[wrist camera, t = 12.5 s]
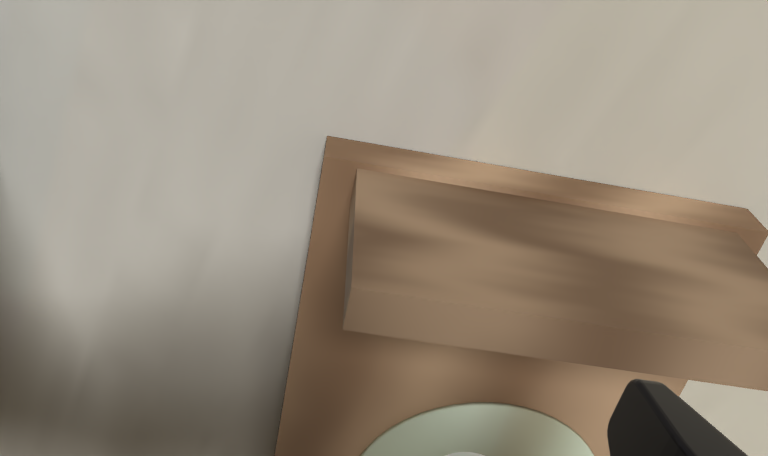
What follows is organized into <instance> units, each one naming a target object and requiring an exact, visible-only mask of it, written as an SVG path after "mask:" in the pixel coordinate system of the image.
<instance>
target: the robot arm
mask: <svg viewBox="0 0 768 456" xmlns="http://www.w3.org/2000/svg"><path fill="white" fill-rule="evenodd" d="M607 438H608V445H609V451H610V456H748V455H746V454H745V453H744V452H743V451H742V450H740V449H739V448H738V447H737V446H736V445H735V444H733V443H732V442H731V441H730V440H729V439H728V438H726V437H725V436H724V435H723V434H722V433H721V432H719V431H718V430H717V429H716V428H715V427H714V426H712V425H711V424H710V423H709V422H708V421H707V420H705V419H704V418H703V417H702V416H701V415H700V414H698V413H697V412H696V411H695V410H694V409H693V408H691V407H690V406H689V405H688V404H687V403H686V402H684V401H683V400H682V399H681V398H680V397H679V396H677V395H676V394H675V393H674V392H673V391H672V390H670V389H669V388H668V387H667V386H666V385H664V384H663V383H661V382H657V381H650V380H643V379H633V380H631V381H630V382H629V383H628V384H627V386H626V387H625V389H624V391H623V393H622V395H621V397H620V399H619V401H618V403H617V405H616V407H615V410H614V412H613V414H612V416H611V418H610V420H609V423H608V429H607Z"/></svg>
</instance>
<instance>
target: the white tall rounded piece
mask: <svg viewBox="0 0 768 456" xmlns="http://www.w3.org/2000/svg"><path fill="white" fill-rule="evenodd" d="M445 456H484V455H482V454H478V453H473V452H457V453H451V454H448V455H445Z"/></svg>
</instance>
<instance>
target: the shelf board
mask: <svg viewBox="0 0 768 456" xmlns="http://www.w3.org/2000/svg"><path fill="white" fill-rule="evenodd" d="M767 236H768V230H767V229H766V228H765V227H764V226H763V225H762V224H761V223H760V222H759V221H758V220H757V219H756V218H755V216H754V215H753V214H752V213H751V212H750V211H749V210H748V209H745V208H739V207H734V206H728V205H722V204H716V203H711V202H705V201H699V200H693V199H688V198H682V197H676V196H670V195H665V194H659V193H653V192H647V191H642V190H636V189H630V188H624V187H619V186H613V185H607V184H601V183H595V182H590V181H584V180H578V179H572V178H567V177H561V176H555V175H549V174H544V173H538V172H532V171H526V170H521V169H515V168H509V167H503V166H498V165H492V164H486V163H480V162H475V161H469V160H463V159H457V158H452V157H446V156H440V155H434V154H429V153H423V152H417V151H411V150H406V149H400V148H394V147H388V146H383V145H377V144H371V143H365V142H360V141H354V140H348V139H342V138H337V137H331V136H327V140H326V146H325V152H324V158H323V164H322V170H321V177H320V183H319V189H318V195H317V201H316V207H315V213H314V219H313V225H312V231H311V237H310V243H309V249H308V255H307V261H306V267H305V273H304V280H303V286H302V292H301V298H300V304H299V310H298V316H297V322H296V328H295V334H294V340H293V346H292V352H291V358H290V364H289V370H288V376H287V382H286V389H285V395H284V401H283V407H282V413H281V419H280V425H279V431H278V437H277V443H276V449H275V455H274V456H445V455H448V454H451V453H457V452H473V453H478V454H482V455H484V456H610V451H609V445H608V438H607V429H608V423H609V420H610V418H611V416H612V414H613V412H614V410H615V407H616V405H617V403H618V401H619V399H620V397H621V395H622V393H623V391H624V389H625V387H626V386H627V384H628V383H629V382H630V381H631V380H633V379H643V380H650V381H657V382H661V383H663V384H664V385H666V386H667V387H668V388H669V389H670V390H672V391H673V392H674V393H675V394H676V395H677V396H679V395H680V394H681V392H682V390H683V388H684V386H685V384H686V383H687V381H688V380H694V381H701V382H708V383H715V384H722V385H729V386H736V387H742V388H749V389H756V390H763V391H768V268H767V267H766V266H765V265H764V264H763V263H762V261H761V260H760V259H759V258H758V257H757V254H758V252H759V250H760V248H761V247H762V245H763V243H764V241H765V239H766V238H767Z"/></svg>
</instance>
